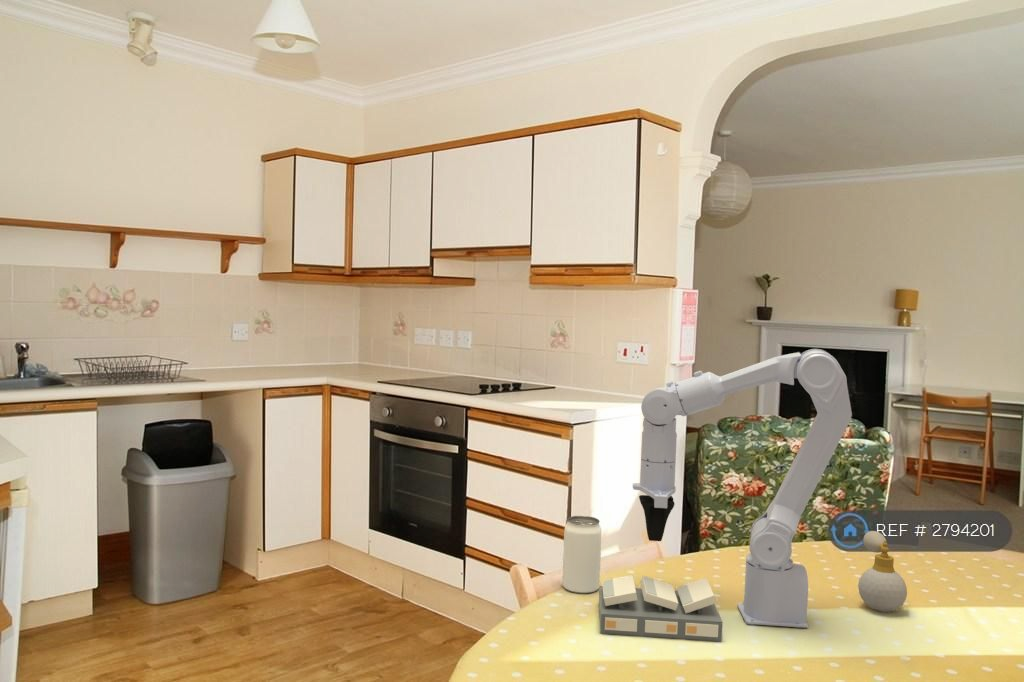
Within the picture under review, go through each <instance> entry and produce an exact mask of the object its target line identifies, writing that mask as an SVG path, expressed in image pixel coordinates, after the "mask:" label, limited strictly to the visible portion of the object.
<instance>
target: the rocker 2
mask: <svg viewBox="0 0 1024 682" xmlns="http://www.w3.org/2000/svg"><path fill="white" fill-rule="evenodd" d="M709 583H710V582H709V580H708V579H707V577H703V578H700V579H698V580H694V581H693V582H689V583H686V584H683V585H681V586H677V587H676V591H678V593H679V596H680V599H681V602H682V605H683V608H684V610H685V613H689V612H692V611H695V610H698V609H700V608H703V607H706V606H709V605H712V604H715V605H716V604H717V603H718V602H717V599H716V597H715V594H714V591H713V590H712V587H711V585H710V584H709Z"/></svg>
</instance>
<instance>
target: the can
mask: <svg viewBox="0 0 1024 682" xmlns="http://www.w3.org/2000/svg"><path fill="white" fill-rule="evenodd" d="M566 520H567V522H566V524H565V526H564V532H563V533H564V534H563V553H562V554H563V556H562V558H563V559H562V587H563V588H564V589H565V590H566V591H567V592H568V591H569V592H570V591H571V592H570V593H573V592H574V593H573V594H581V595H583V594H584V595H585V594H587V595H588V594H592V593H595V592H597V591H598V590H599V587H600V581H601V580H600V579H601V578H600V577H601V558H602V556H601V555H602V553H601V552H602V551H601V550H602V527H601V525H600V520H599V519H598V518H596V517H593V516H587V515H573V516H569V517H568V518H567V519H566Z"/></svg>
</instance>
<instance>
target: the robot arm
mask: <svg viewBox="0 0 1024 682" xmlns="http://www.w3.org/2000/svg"><path fill="white" fill-rule="evenodd" d="M795 379H797V380H798V382H799V384H800V385H801V386H802V387H803V389H804V390H805V391H806V392H807V393H808V394H809V395H810V398H811V400H812V403H813V406H814V407H815V410H816V412H817V413H816V416H815V418H814V420H813V421H812V424H811V426H810V428H809V430H808V431H807V434H806V435H805V436H804V439H803V441H802V443H801V445H800V447H799V449H798V451H797V453H796V455H795V457H794V459H793V460H792V463H791V465H790V467H789V469H788V471H787V473H786V474H785V477H784V479H783V481H782V483H781V485H780V487H779V488H778V490H777V493H776V494H775V496H774V498H773V500H772V501H771V502H770V503H769V505H768V507H767V509H766V511H765V512H764V513H763V514H762V515H761V516H759V517H758V518H757V519H755V520H754V522H753V523H752V525H751V528H750V541H749V554H747V555H746V557H745V571H744V572H745V577H744V591H743V592H744V594H743V595H744V596H743V602H737V605H736V606H737V607H738V610H739V612H740V614H741V616H742V618H743V619H744V622H745V623H746V624H747V625H758V626H759V625H761V626H776V627H786V628H787V627H791V628H803V629H804V628H805V629H806V628H808V623H807V620H808V619H807V617H808V616H807V615H808V600H809V599H808V597H809V578H808V576H809V575H808V573H807V570H806V569H807V568H806V567H805V566H804V565H803V564H798V563H794V562H793V559H791V557H792V551H793V550H792V549H793V548H792V544H793V543H792V541H793V538H794V537H795V534H796V532H797V530H798V526H799V524H800V520H801V517H802V514H803V513H804V511H805V510H806V507H807V505H808V504H809V502H810V499H811V497H812V496H813V493H814V492H815V490H816V487H817V485H818V483H819V482H820V480H821V478H822V477H823V474H824V473H825V470H826V469H827V466H828V465H829V463H830V460H831V459H832V457H833V455H834V453H835V451H836V449H837V447H838V445H839V443H840V441H841V439H842V438H843V435H844V434H845V432H846V429H847V427H848V426H849V423H850V422H851V419H852V417H853V413H852V406H851V401H850V394H849V388H848V383H847V381H848V380H847V376H846V374H845V372H844V370H843V369H842V367H841V365H840V363H839V362H838V360H837V359H836V358H835V357H834V356H833V355H831V354H830V353H829V352H827V351H826V350H824V349H820V348H811V349H808V350H805V351H803V352H800V351H797V352H793V353H788V354H782V355H779V356H774V357H771V358H769V359H765V360H763V361H761V362H758V363H755V364H751V365H749V366H746V367H744V368H740V369H738V370H735V371H732V372H730V373H727V374H724V375H717V374H716V373H713V372H711V371H706V372H703V371H702V370H698V371H696V372H694V373H693V376H692V377H689V378H686V379H683V380H680V381H677V382H673V381H672V380H670V381H667V382H665V385H666V387H664V386H663V387H661V386H660V387H657V388H653V389H652V390H651V391H649V392H648V393H647V394H645V396H644V397H643V399H642V401H641V413H642V415H643V422H642V428H643V429H642V432H641V448H640V449H641V452H640V471H639V472H640V477H639V483H638V482H637V483H635V482H634V483H632V490H635V491H640V492H641V493H644V494H645V495H644V494H642V495H639V496H638V498H639V499H638V500H639V503H640V505H641V506H642V509H643V513H644V518H645V527H646V532H647V533H646V534H647V538H648V541H649V542H662V540H663V538H664V534H665V530H666V525H667V522H668V518H669V517H670V514H671V512H672V510H673V509H674V507H675V505H676V504H675V500H674V497H673V495H674V494H676V490H677V489H676V486H675V483H676V464H677V463H676V459H677V458H676V457H677V442H678V441H677V437H678V434H677V427H676V426H677V418H676V417H677V416H682V417H687V416H690V415H693V414H696V413H699V412H702V411H706V410H709V409H712V408H717V407H718V406H721V405H722V404H723V402H724V399H725V398H726V396H728V395H730V394H733V393H736V392H740V391H744V390H748V389H751V388H755V387H759V386H762V385H765V384H769V383H772V382H777V383H781V384H787V385H790V386H794V385H795Z"/></svg>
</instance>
